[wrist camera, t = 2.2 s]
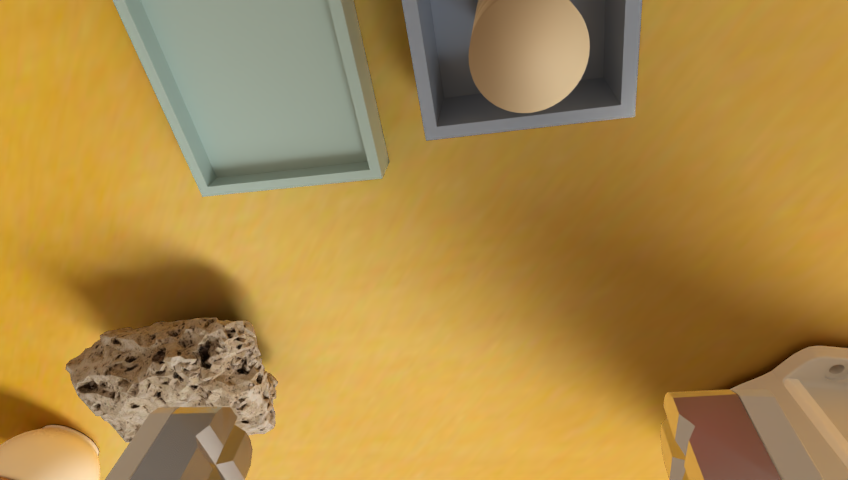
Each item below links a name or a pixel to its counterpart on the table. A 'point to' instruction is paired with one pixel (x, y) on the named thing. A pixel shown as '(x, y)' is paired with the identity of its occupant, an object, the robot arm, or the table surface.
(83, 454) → the lidded jar
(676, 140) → the table surface
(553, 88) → the dowel
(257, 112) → the tray
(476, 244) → the table surface
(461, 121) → the grey open box
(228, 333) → the pumice stone
